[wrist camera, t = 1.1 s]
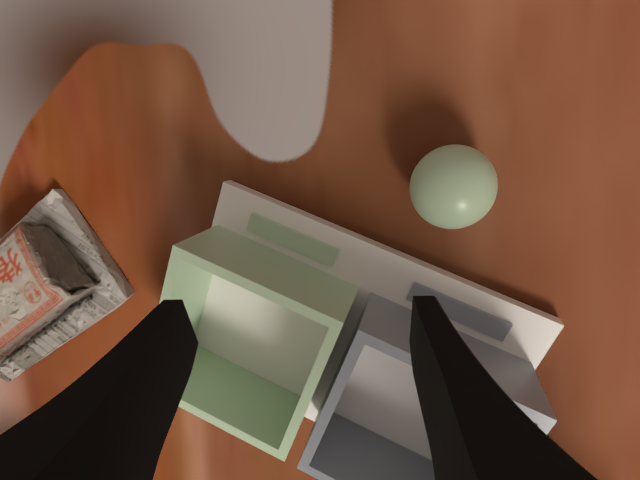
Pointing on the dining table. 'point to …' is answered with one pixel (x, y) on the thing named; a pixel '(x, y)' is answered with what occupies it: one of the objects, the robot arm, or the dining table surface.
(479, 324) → the two-tone hollow container
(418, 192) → the ball
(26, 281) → the packaged product
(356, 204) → the dining table surface
